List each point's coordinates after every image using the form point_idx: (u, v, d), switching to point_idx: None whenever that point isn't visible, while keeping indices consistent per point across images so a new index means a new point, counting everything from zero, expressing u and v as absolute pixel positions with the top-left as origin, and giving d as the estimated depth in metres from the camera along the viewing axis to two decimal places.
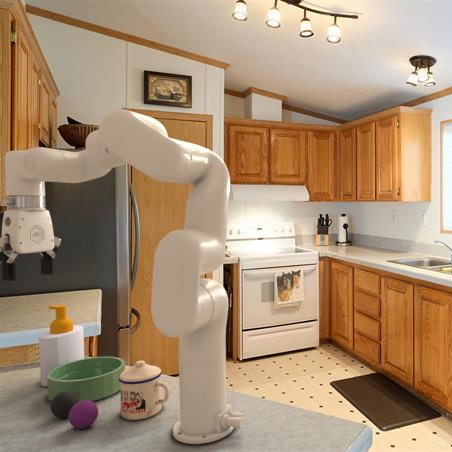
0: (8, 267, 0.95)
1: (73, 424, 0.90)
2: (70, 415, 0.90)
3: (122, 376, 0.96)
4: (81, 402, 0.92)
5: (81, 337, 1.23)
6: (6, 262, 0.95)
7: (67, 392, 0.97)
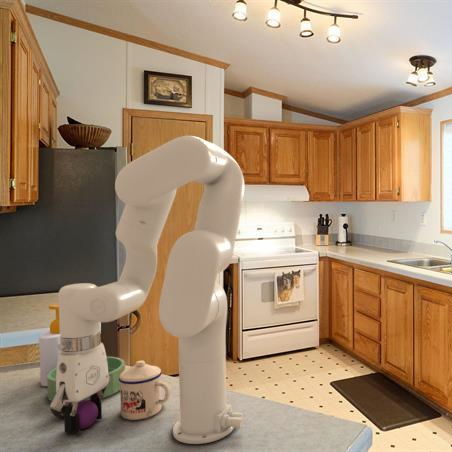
0: (71, 420, 0.88)
1: None
2: None
3: (122, 376, 0.96)
4: (81, 402, 0.92)
5: None
6: (70, 416, 0.88)
7: None
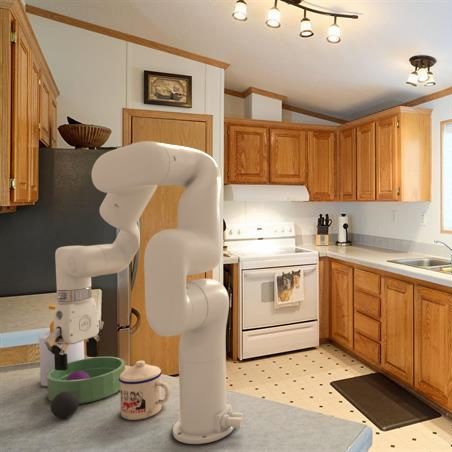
0: (60, 358, 1.02)
1: None
2: None
3: (122, 376, 0.96)
4: (75, 372, 1.08)
5: None
6: (59, 354, 1.02)
7: (67, 392, 0.97)
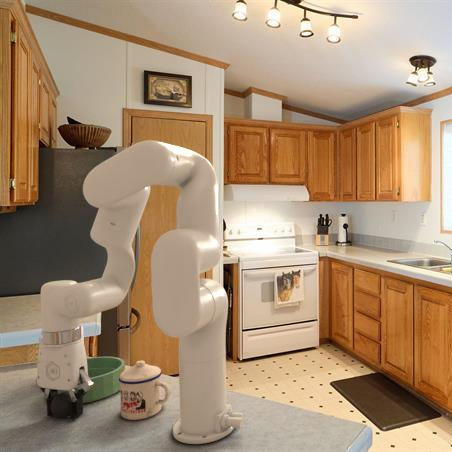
0: None
1: None
2: None
3: (122, 376, 0.96)
4: None
5: (81, 337, 1.23)
6: None
7: (67, 392, 0.97)
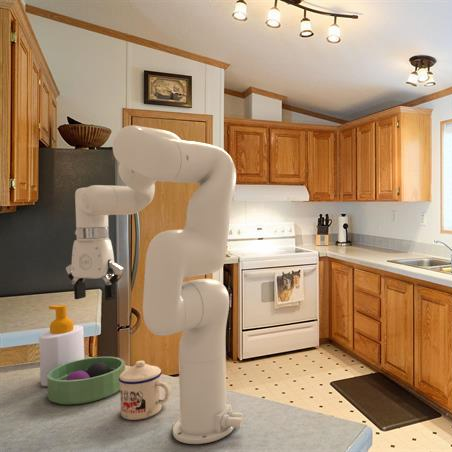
0: None
1: None
2: None
3: (122, 376, 0.96)
4: (75, 372, 1.08)
5: (81, 337, 1.23)
6: None
7: (100, 362, 1.15)
